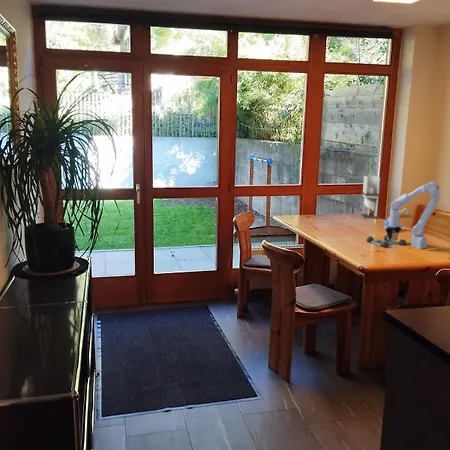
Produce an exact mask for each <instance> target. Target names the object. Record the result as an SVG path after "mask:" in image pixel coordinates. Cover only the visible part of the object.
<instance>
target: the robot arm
mask: <svg viewBox="0 0 450 450" xmlns="http://www.w3.org/2000/svg"><path fill="white" fill-rule="evenodd" d="M421 193H428V194H429V196H430V199H429V201H428V203H427V206H426V207H425V208H424V210H423V212H422V214H421V216H420V218H419V219H418V221H417V223H416V224H415V225H414V226H413V227H412V228H411V230H412V231H411V239H410V247H413V248H417V249H418V251H420V250H423V249H428V247H427V246H428V237H427V236H426V235H425V234H424V231H425V230H426V229H425V226H426V225H427V222H428V220H429V218H430V217H431V215H432V213H433V212H434V210H435V208H436V207H437V205H438V203H439V201H440V198H441V193H440V186H439V184H438V182H436V181H434V180H433V181H429V182H428V183H425V184H423V185H421V186H419V187H417V188H416V189H415V190H413V191H412V192H409V193H403V194H401V196H399V197H398V198H395V200H393V201H392V202H390V204H389V207H390V210H389V211H390V212H389V217H390V220H389V224H388V225H385V224H383V229H384V230H385V232H386V235H388V238H389V239H391V237H392V232H393V230H395V232H397V233H398V234H399V233H400V231H402V228H403V226H404V225H403V224H402V223H400V224H398V221H399V220H400V215H399V211H400V208H401V207H403V206H405V205H406V204H407V203H410V202H411V200H412V198H414V197H416V196H417V195H419V194H421ZM391 228H393V229H391Z"/></svg>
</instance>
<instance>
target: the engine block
mask: <svg viewBox="0 0 450 450" xmlns="http://www.w3.org/2000/svg"><path fill="white" fill-rule="evenodd" d="M386 235H387V234H386ZM398 238H399V233H397V232H395V230H393V232H392V237H391V239H389V238H388V235H387V239H389V240H392V241H399V240H398Z"/></svg>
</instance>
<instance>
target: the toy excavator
mask: <svg viewBox="0 0 450 450" xmlns="http://www.w3.org/2000/svg"><path fill="white" fill-rule="evenodd" d="M404 213H405V214H404ZM402 214H404V215H406V216H407V215H408V214H409V210H408V208H405V207H404V208H403V209H402V210H399V216H400V215H402ZM389 220H390V216H389V217H388V218H387V220H385V221H384V222H383V225H388V224H389ZM398 224H401V223H400V219H399V221H398ZM391 229H393V228H391Z"/></svg>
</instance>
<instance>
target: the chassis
mask: <svg viewBox="0 0 450 450" xmlns="http://www.w3.org/2000/svg"><path fill="white" fill-rule="evenodd" d="M398 241H399V242H398ZM398 241H397V240H394V241H392V240H389V239H387V234H385V235H384V236H383V240H382V239H376V240H375V239H374V237H373V236H370V235H369V236H368V237H367V238H366V242H367V243H368V244H371V245H375V246H377V247H381V248H384V249H385V248H389V247H392V246H406V245H407V241H406V239H404V238H402V239H400V240H398Z"/></svg>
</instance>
